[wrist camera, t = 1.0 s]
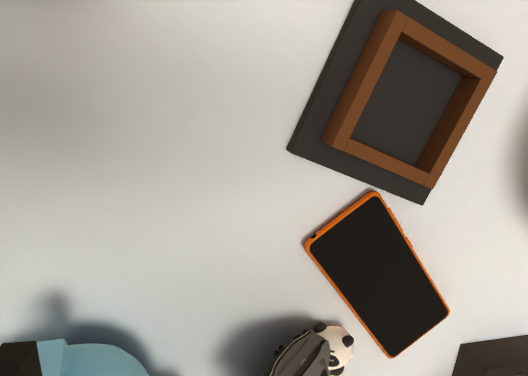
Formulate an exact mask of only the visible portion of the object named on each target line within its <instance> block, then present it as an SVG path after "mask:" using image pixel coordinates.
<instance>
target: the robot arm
mask: <svg viewBox="0 0 528 376" xmlns="http://www.w3.org/2000/svg"><path fill="white" fill-rule="evenodd" d="M0 376H42V370H41V365H40V359H39V354H38V348H37V343H36V341H28V342H15V343H2V345H1V346H0Z"/></svg>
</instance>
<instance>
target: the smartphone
mask: <svg viewBox="0 0 528 376" xmlns="http://www.w3.org/2000/svg"><path fill="white" fill-rule="evenodd" d="M402 231H403V230H402V228H401V226H400V225H399V223H398V221H397V220H396V218H395V217H394V215H393V213H392V212H391V210H390V208H388V207H387V205H386V204H385V202H384V200H383V199H382V197H381V195H380V194H379V193H378V192H376V191H370V192H369V193H367V194H366V195H365V196H363V197H362V198H361V199H359V200H358V201H357V202H356V203H354V204H353V205H352V206H350V207H349V208H348V209H346V210H345V211H344V212H343V213H341V214H340V215H339V216H337V217H336V218H335V219H333V220H332V221H331V222H330V223H328V224H327V225H326V226H324V227H323V228H322V229H321V230H319V231H318V232H317V233H315V234H314V235H313V236H311V237H310V238H309V239H308V240H307V241H306V242H305V244H304V248H305V250H306V252H307V253H308V254H309V256H310V257H311V258H312V260H313V261H314V262H315V263H316V265H317V266H318V267H319V269H320V270H321V271H322V273H323V274H324V275H325V276H326V278H327V279H328V280H329V282H330V283H331V284H332V286H333V287H334V288H335V289H336V291H337V292H338V293H339V295H340V296H341V297H342V299H343V300H344V301H345V302H346V304H347V305H348V306H349V308H350V309H351V310H352V312H353V313H354V314H355V315H356V317H357V318H358V319H359V321H360V322H361V323H362V325H363V326H364V327H365V329H366V330H367V331H368V332H369V334H370V335H371V336H372V338H373V339H374V340H375V342H376V343H377V344H378V345H379V347H380V348H381V349H382V351H383V352H384V353H385V355H386V356H387V357H388V358H394V357H396V356H398V355H399V354H400V353H401V352H403V351H404V350H405V349H407V348H408V347H409V346H410V345H412V344H413V343H414V342H416V341H417V340H418V339H419V338H421V337H422V336H423V335H424V334H426V333H427V332H428V331H430V330H431V329H432V328H433V327H435V326H436V325H437V324H439V323H440V322H441V321H442V320H444V319H445V318H446V317H447V316H448V315H449V313H450V310H449V308H448V306H447V305H446V303H445V301H444V300H443V298H442V296H441V295H440V293H439V291H438V290H437V288H436V287H435V285H434V283H433V282H432V280H431V278H430V277H429V275H428V273H427V272H426V270H425V268H424V267H423V265H422V263H421V262H420V260H419V258H418V257H417V255H416V253H415V252H414V250H413V248H412V247H413V246H412V245H411V243H410V241H409V240H408V238H407V237H405V235H404V234H403V232H402Z"/></svg>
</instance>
